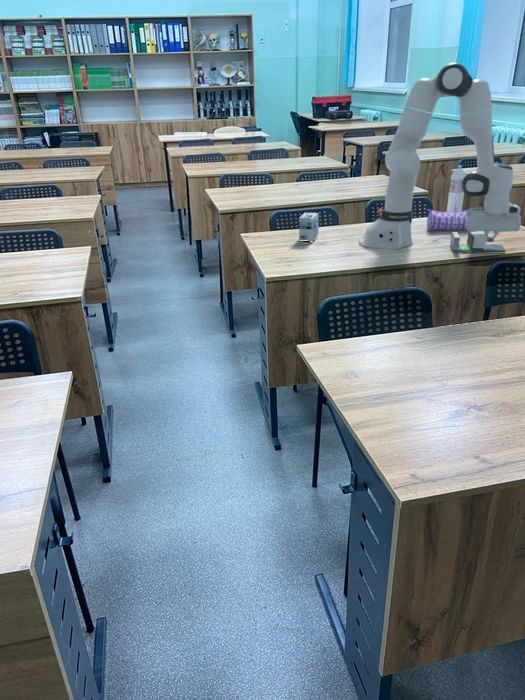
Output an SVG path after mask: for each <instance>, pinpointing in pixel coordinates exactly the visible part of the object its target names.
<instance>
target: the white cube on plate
mask: <svg viewBox="0 0 525 700" xmlns="http://www.w3.org/2000/svg"><path fill="white" fill-rule="evenodd" d="M467 233H468V235H467V239H466V244H468V246H469V247H470V249H472V248H485V244H487V242H486V237H487V236H486V234H485V233H484V231H468V232H467Z"/></svg>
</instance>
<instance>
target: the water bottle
mask: <svg viewBox="0 0 525 700" xmlns="http://www.w3.org/2000/svg"><path fill="white" fill-rule="evenodd" d="M462 168H463V166H462V165H457V169H455V170H454V171H453V172H452V173H451V176H450V185H449V191H448V198H447V199H448V200H447V207H446V212H456V211H463V209H462V208H463V202H464V195H465V193H464V192H463V190H462V181H463V179H464V177H465V176H466V175H467V174H466V172H465V171H464V169H462Z"/></svg>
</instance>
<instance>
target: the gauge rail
mask: <svg viewBox="0 0 525 700" xmlns="http://www.w3.org/2000/svg"><path fill="white" fill-rule="evenodd" d="M460 241H461V236H460V234H459V233H458V232H457V231H451V236H450V244H449V248H450V250H451V252H452V253H459V252H460V253H461V252H462V253H461V254H464V253H463V252H505V253H506V249H505V247H504V246H503V244H495V243H494V244H492V243H491V244H490V243H489V244H487V243H485V248H472V249H470V247H469V246H468V244H467V243H460ZM460 253H459V254H460Z"/></svg>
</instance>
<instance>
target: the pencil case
mask: <svg viewBox="0 0 525 700" xmlns="http://www.w3.org/2000/svg"><path fill="white" fill-rule="evenodd" d="M469 209H470V208H469ZM470 210H471V209H470ZM427 211H428V214H427V218H426V219H427V220H426V228H427V230H429V231H437V230H438V231H439V230H440V231H465V230H466V231H468V230H467V229H466V228H465V225H466V220H467V211H468V209H466V210H462V211H456V212H447V211H439V210H438V211H437V210H434V209H428V208H427Z"/></svg>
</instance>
